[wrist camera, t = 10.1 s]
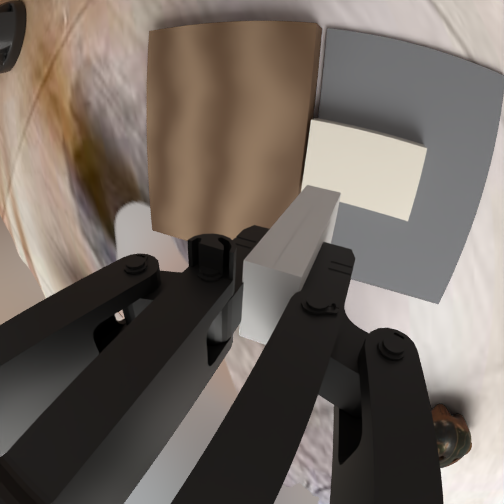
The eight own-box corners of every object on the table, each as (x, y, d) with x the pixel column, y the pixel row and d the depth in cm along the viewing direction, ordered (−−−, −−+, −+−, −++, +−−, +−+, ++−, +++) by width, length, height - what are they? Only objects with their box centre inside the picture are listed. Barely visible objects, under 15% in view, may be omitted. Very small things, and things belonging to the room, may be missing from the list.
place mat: (297, 261, 31) (296, 263, 31) (328, 29, 19) (327, 27, 19) (438, 301, 26) (438, 304, 26) (503, 76, 15) (505, 76, 14)
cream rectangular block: (306, 185, 26) (300, 191, 25) (316, 117, 23) (311, 119, 22) (406, 212, 24) (407, 221, 22) (424, 144, 21) (427, 148, 19)
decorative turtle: (421, 385, 32) (422, 438, 25) (490, 410, 30) (496, 455, 23) (378, 421, 37) (372, 468, 30) (447, 441, 35) (447, 482, 29)
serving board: (162, 223, 36) (152, 230, 34) (162, 32, 24) (149, 31, 23) (293, 260, 31) (286, 270, 29) (321, 28, 20) (316, 23, 18)
